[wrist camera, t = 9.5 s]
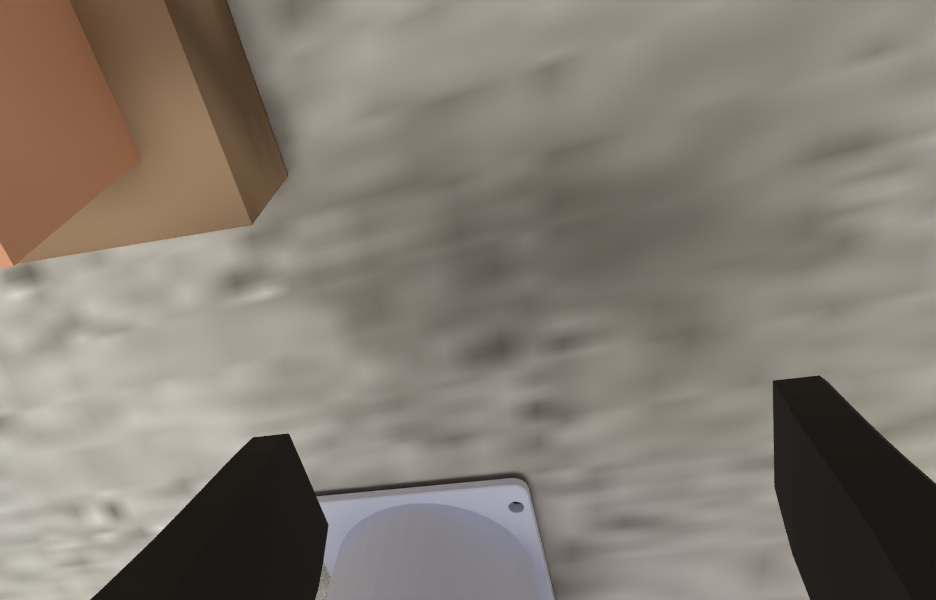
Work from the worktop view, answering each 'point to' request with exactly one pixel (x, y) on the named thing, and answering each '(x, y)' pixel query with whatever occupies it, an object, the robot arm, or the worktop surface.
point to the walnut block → (174, 127)
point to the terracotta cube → (52, 124)
